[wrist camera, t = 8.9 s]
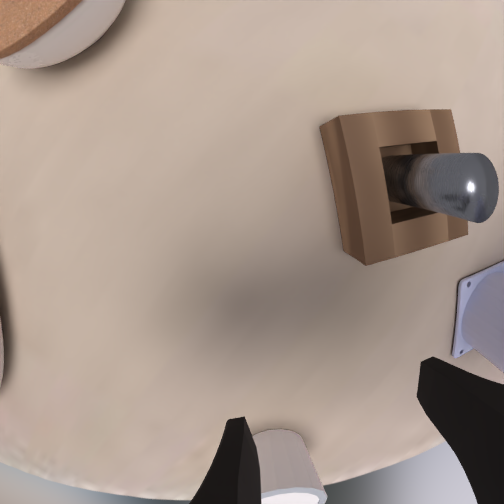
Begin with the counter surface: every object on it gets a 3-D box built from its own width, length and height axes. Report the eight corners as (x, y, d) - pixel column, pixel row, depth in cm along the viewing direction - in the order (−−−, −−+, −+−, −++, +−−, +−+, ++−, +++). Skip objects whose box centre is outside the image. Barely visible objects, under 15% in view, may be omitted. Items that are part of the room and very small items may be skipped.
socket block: (421, 116, 17) (450, 109, 14) (437, 225, 19) (468, 234, 15) (319, 126, 17) (338, 115, 13) (343, 250, 19) (365, 265, 15)
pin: (405, 152, 17) (494, 150, 9) (413, 196, 18) (500, 215, 10) (368, 159, 17) (453, 156, 9) (377, 205, 18) (461, 229, 10)
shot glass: (320, 424, 23) (341, 484, 16) (298, 467, 24) (310, 520, 17) (242, 421, 22) (247, 488, 15) (230, 465, 23) (232, 522, 16)
